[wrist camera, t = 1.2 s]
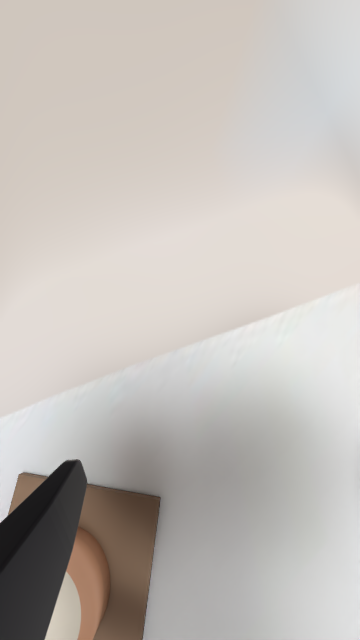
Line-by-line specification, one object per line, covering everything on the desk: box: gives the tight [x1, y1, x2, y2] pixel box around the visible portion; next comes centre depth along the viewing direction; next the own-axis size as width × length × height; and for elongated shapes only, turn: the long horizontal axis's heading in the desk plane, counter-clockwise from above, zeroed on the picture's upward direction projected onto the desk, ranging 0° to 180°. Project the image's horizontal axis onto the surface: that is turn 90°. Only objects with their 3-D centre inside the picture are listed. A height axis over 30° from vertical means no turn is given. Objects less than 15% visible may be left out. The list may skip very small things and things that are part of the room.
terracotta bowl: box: [45, 527, 110, 640], centre depth 18 cm, size 8×8×3 cm
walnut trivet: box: [8, 473, 160, 640], centre depth 19 cm, size 12×12×1 cm
